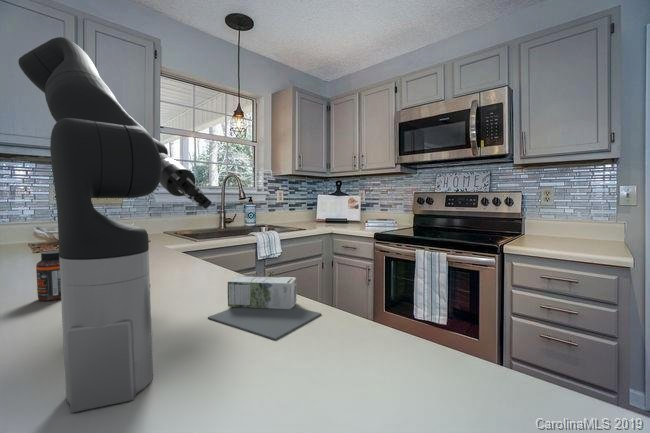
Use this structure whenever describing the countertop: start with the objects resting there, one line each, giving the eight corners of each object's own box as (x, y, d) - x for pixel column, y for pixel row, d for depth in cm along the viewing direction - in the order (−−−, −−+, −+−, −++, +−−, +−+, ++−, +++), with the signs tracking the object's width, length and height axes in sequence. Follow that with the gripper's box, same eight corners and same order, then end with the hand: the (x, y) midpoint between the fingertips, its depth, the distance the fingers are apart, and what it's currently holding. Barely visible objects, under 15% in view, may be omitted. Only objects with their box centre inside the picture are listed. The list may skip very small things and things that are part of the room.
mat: (207, 318, 64) (207, 316, 64) (258, 299, 75) (258, 298, 75) (275, 340, 54) (275, 338, 54) (321, 314, 66) (321, 313, 66)
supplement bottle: (31, 300, 75) (28, 253, 74) (58, 293, 81) (56, 249, 80) (49, 303, 73) (46, 254, 73) (76, 295, 79) (73, 250, 78)
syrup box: (236, 299, 75) (297, 301, 74) (226, 307, 69) (292, 309, 68) (236, 275, 75) (297, 276, 73) (226, 281, 69) (292, 283, 67)
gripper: (167, 149, 79) (202, 175, 70) (199, 182, 90) (233, 208, 80) (144, 170, 78) (176, 199, 68) (179, 201, 88) (212, 230, 79)
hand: (207, 204), depth 74 cm, fingers closed
